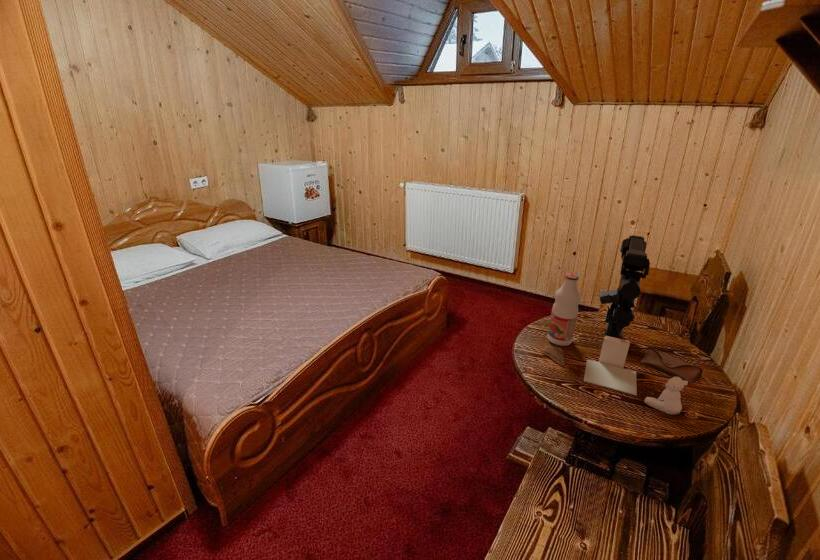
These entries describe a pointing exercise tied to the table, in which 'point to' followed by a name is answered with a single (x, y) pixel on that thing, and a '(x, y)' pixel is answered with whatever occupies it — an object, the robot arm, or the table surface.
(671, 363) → the sunglasses case
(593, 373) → the felt mat
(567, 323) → the fruit juice
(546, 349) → the shard
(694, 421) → the table surface
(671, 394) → the sitting furry creature
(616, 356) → the glazed tile
